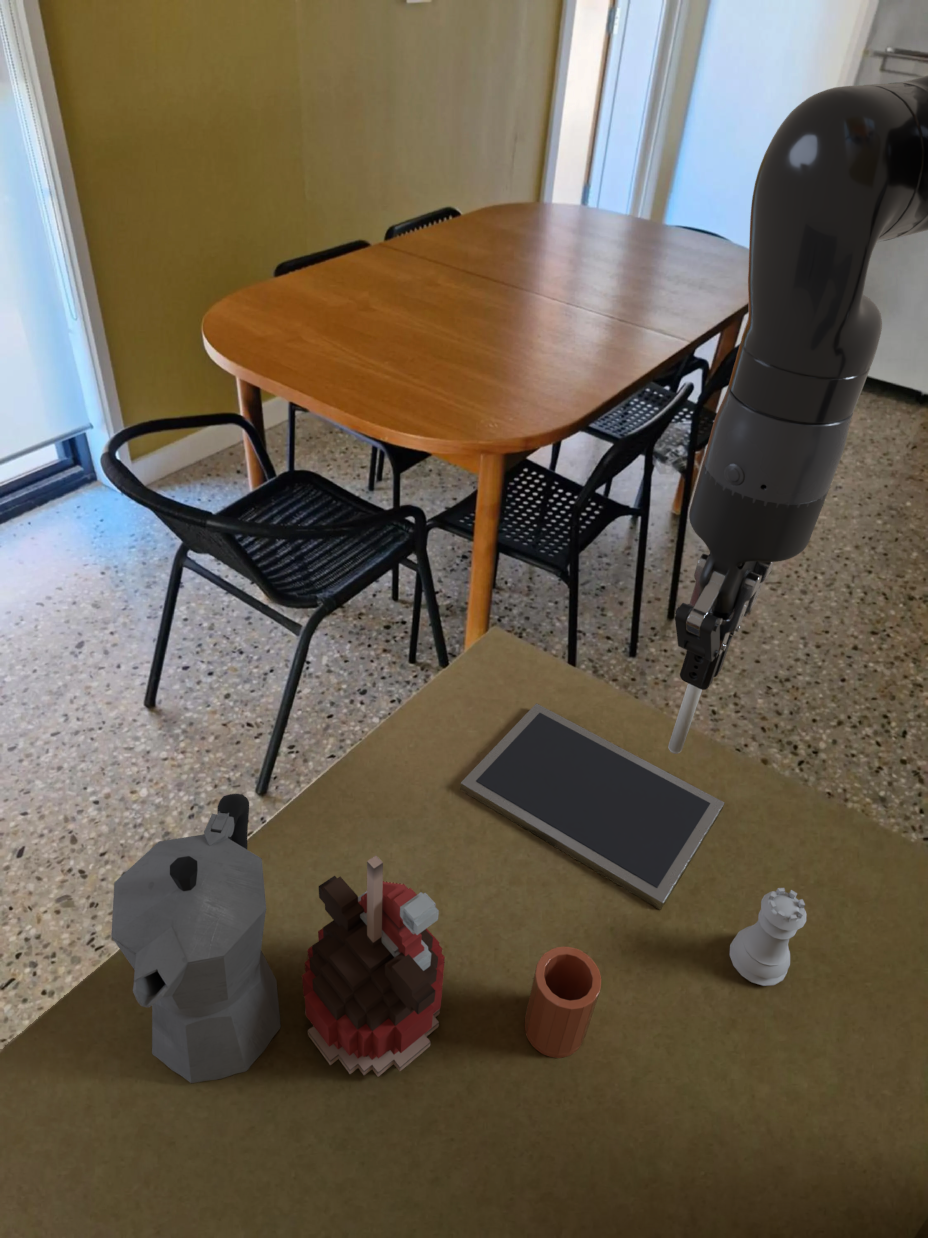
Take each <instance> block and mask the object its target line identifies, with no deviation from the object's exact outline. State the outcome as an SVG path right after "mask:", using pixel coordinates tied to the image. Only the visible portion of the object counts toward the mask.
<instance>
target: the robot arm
mask: <svg viewBox="0 0 928 1238" xmlns="http://www.w3.org/2000/svg"><path fill="white" fill-rule="evenodd" d="M749 221H750V222H749V239H748V240H749V241H748V242H749V245H748V268H747V271H748V272H747V293H748V295H747V296H748V316H747V320H746V322H745V326H744V329H743V332H742V336H741V339H740V343H739V346H738V350H737V353H736V357H735V360H734V361H735V362H734V365H733V368H732V371H731V375H730V379H729V383H728V385H727V389H726V392H725V394H724V397H723V398H722V401H721V402H720V405H719V408H718V409H717V412H716V414H715V417H714V420H713V424H712V427H711V431H710V434H709V438H708V442H707V445H706V450H705V453H704V456H703V460H702V464H701V467H700V472H699V475H698V479H697V481H696V485H695V489H694V492H693V496H692V501H691V504H690V508H689V512H688V517H689V518H688V520H689V523H690V526H691V528H692V530H693V532H694V533H695V534H696V535H697V536H698V537H699V538H700V539H701V541H702V542H703V543H704V545H705V546H706V547H707V549H708V550H709V553H707V552H705V551H704V552H702V554H701V555H700V557H699V559H698V561H697V564H696V567H695V571H694V574H693V577H694V580H695V583H694V587H693V591H692V594H691V598H690V600H689V603H685V602H681V604H680V605H679V606H677V608H676V610H675V613H674V614H675V616H674V623H675V631H676V632H675V633H676V639H677V646H678V647H679V648H681V649H684V650H685V651H686V653H685V655H684V659H683V662H682V666H681V669H680V673H679V677H680V679H681V680H682V681H683V682H685V683H687V684H688V683H689V684H691V685H693V686H695V687H697V688H699V689H702V691H705V690H708V689H709V687H710V686H711V684H712V683H713V680H714V678H716V677H717V676H718V675H719V674H720V672H721V670H722V668H723V666H724V662H725V659H726V657H727V653H728V650H729V647H730V644H731V642H732V639H733V637H735V636H736V635H737V633H739V631H741V627H742V625H741V624H742V622H743V620H744V617H747V616H748V614H750V613H751V612H752V609H753V607H754V606H755V604H756V603H757V600H758V598H759V595H760V592H761V589H762V587H763V584H764V582H765V581H766V579H767V577H768V576H769V575H770V573H771V572H772V570H773V568H774V564H775V563H777V562H783V561H787V560H790V559H792V558H794V557H796V556H798V555H799V554H801V553H802V552H804V550H805V549H806V548H807V547H808V545H809V543H810V540H811V537H812V535H813V534H814V533H813V532H814V530H815V527H816V525H817V522H818V520H819V516H820V515H821V511H822V508H823V507H824V504H825V502H826V498H827V496H828V494H829V491H830V488H831V485H832V483H833V480H834V478H835V475H836V473H837V470H838V468H839V464H840V462H841V459H842V457H843V454H844V451H845V447H846V444H847V439H848V435H849V430H850V425H851V422H852V418H853V415H854V412H855V410H856V407H857V404H858V402H859V399H860V397H861V394H862V391H863V389H864V386H865V384H866V380H867V378H868V375H869V372H870V370H871V367H872V365H873V362H874V359H875V357H876V356H875V355H876V353H877V350H878V346H879V342H880V339H881V335H882V330H883V319H882V313H881V312H880V310H879V308H878V306H877V305H876V303H875V302H874V301H872V299H871V298H870V297H868V296H866V295H865V294H864V290H865V286H866V285H865V284H866V279H867V275H868V274H867V273H868V269H869V265H870V261H871V258H872V255H873V252H874V249H875V247H876V244H878V243H881V242H886V241H890V240H894V239H898V238H903V237H906V236H911V235H914V234H915V235H916V234H919V233H922V232H926V231H928V74H927V75H923V76H921V77H916V78H913V79H908V80H906V81H905V80H904V81H899V82H889V83H874V84H858V85H857V84H856V85H855V84H854V85H845V86H836V87H832V88H827V89H825V90H823V91H820V92H817V93H815V94H813V95H811V96H809V97H807V98H806V99H805V100H803V101H801V102H800V103H799V104H798V105H797V106H796V107H795V108H794V109H792V110H791V112H790V113H788V115H787V116H786V117H785V119H784V120H783V121H782V123H781V124H780V125H779V127H778V128H777V130H776V131H775V133H774V134H773V136H772V139H771V141H770V142H769V144H768V146H767V148H766V150H765V153H764V154H763V157H762V159H761V162H760V165H759V168H758V170H757V174H756V177H755V181H754V186H753V192H752V198H751V205H750V219H749Z"/></svg>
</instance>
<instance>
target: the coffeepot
mask: <svg viewBox="0 0 928 1238" xmlns="http://www.w3.org/2000/svg"><path fill="white" fill-rule="evenodd" d="M249 801H250V800H249V799H248V797H246V795H244V794H242V793H230V794H225V795H223V796H222V797H221V799H220V800H219V801H218V805H217V814H216V813H211V814H210V815H211V816H210V817H209V819H208V822H207V824H206V826H205V829H204V831H203V834H197V835H190V836H184V837H178V838H171V839H166V840H160V841H157V843H155V844H154V845H153V846H152V847H151V848H150V849H149V850H147V852H146V853H145V854H143V855H142V856H141V857H140V858H139V859H138V860H137V861H136V862H135V863H134V864H133V865H131V866H130V867H129V868H128V869H127V870H126V871H125V872H124V873H123V874H122V875H120V877H118V879H117V880H115V881H114V883H113V897H112V916H111V917H112V918H111V932H110V933H111V935H110V936H111V939H112V940H113V941H114V943H115V944H116V946H117V947H118V948H119V950H120V951H121V953H122V954H123V955H124V957H125V959H126V960H127V961H128V963H129V965H130V966H131V967H132V969H133V970H134V974H133V986H132V993H133V995H134V998H135V999H136V1002H137V1003H138V1005H140V1006H141V1007H142V1008H146V1009H147V1008H148V1009H149V1008H151V1009H152V1010H151V1011H152V1013H151V1015H152V1016H151V1021H152V1022H151V1054H152V1055H153V1056H154V1057H155V1058H157V1059H158V1060H159V1061H160V1062H162V1063H163V1064H164V1065H165V1066H167V1068H168V1069H170V1071H172V1072H174V1073H176V1074H178V1075H179V1076H181V1077H182V1078H184V1079H185V1080H186V1081H187V1082H189V1083H190V1084H195V1083H201V1082H208V1081H209V1082H210V1081H216V1080H221V1079H226V1078H229V1077H231V1076H233V1075H236V1074H240V1073H241V1074H242V1073H245V1072H247V1071H248V1070H249V1069H250V1068H251V1066H252V1065H253V1064H254V1063H255V1061H256V1060H257V1059H258V1058H259V1057H260V1056H261V1055H262V1054H263V1053H264V1052H265V1051H266V1049H267V1048H268V1046H269V1045H270V1043H271V1041H272V1040H273V1038H274V1037H275V1036H276V1034H277V1033H278V1032H279V1030H280V1029H281V1027H282V1026H281V1024H282V1023H281V1015H280V1005H279V994H278V984H277V983H278V982H277V979H276V977H275V975H274V972H273V970H272V968H271V967H270V965H269V963H268V961H267V959H266V957H265V955H264V953H263V951H262V945H263V938H264V928H265V922H266V921H265V920H266V914H267V904H266V903H267V900H266V889H265V879H264V869H263V859H262V857H260V856H258V855H257V854H255V853H254V852H252V851H250V850H248V831H249V817H250V802H249Z"/></svg>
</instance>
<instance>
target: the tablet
mask: <svg viewBox="0 0 928 1238" xmlns="http://www.w3.org/2000/svg"><path fill="white" fill-rule="evenodd" d="M459 786H460V787H459V790H460V791H461V792H463V793H465V794H466V795H468V796H470V797H471V798H473V799H475V800H477V801H478V802H479V803H482V804H483V805H484V806H486V807H488V808H490V809H491V810H493V811H494V812H497V813H498V814H500V815H501V816H503V817H504V818H506V819H508V820H510V821H512V822H513V823H515V824H516V825H518V826H520V827H522V828H523V829H524V830H527V831H528V832H530V833H531V834H533V835H534V836H535V837H536V836H537V837H538V838H540V839H541V840H543V841H545V842H546V843H548V844H549V845H551V846H553V847H554V848H557V849H558V850H560V851H561V852H563V853H565V854H567V855H568V856H570V857H571V858H573V859H575V860H577V861H578V862H580V863H582V864H583V865H584V866H586V867H588V868H589V869H592V870H593V871H594V872H596V873H598V874H600V875H601V876H603V877H605V878H607V879H608V880H610V881H611V882H613V883H615V884H616V885H618V886H619V887H622V888H623V889H625V890H626V891H628V892H630V893H632V894H633V895H635V896H637V897H638V898H639V899H642V900H643V901H645V902H646V903H648V904H649V905H651V906H653V907H655V908H657V909H658V910H662V909H663V907H664V905H665V904H666V903H667V901H668V899H669V898H670V895H671V894H672V892H673V891H674V889H675V887H676V886H677V884H678V882H679V881H680V880H681V877H682V876H683V875H684V872H685V871H686V870H687V868H688V867H689V864H690V863H691V861H692V860H693V858H694V857H695V855H696V853H697V851H698V850H699V848H700V847H701V845H702V843H703V842H704V840H705V839H706V837H707V835H708V834H709V832H710V830H711V829H712V827H713V825H714V824H715V822H716V821H717V819H718V818H719V815H720V814H721V812H722V811H723V809H724V806H725V802H724V801H723V800H721V799H719V798H717V797H715V796H714V795H712V794H709V793H707V792H706V791H703V790H702V789H700V788H698V787H696V786H694V785H692V784H691V783H689V782H687V781H685V780H683V779H681V778H679V777H678V776H676V775H673V774H671V773H670V772H668V771H666V770H664V769H662V768H660V767H658V766H656V765H655V764H653V763H651V762H649V761H647V760H646V759H643V758H641V757H639V756H638V755H635V754H633V753H632V752H630V751H628V750H626V749H624V748H622V747H621V746H619V745H617V744H614V743H613V742H611V741H609V740H607V739H605V738H604V737H601V736H599V735H597V734H596V733H594V732H592V731H591V730H588V729H587V728H584V727H582V726H581V725H578V724H577V723H575V722H573V721H571V720H569V719H567V718H566V717H564V716H562V715H560V714H558V713H556V712H554V711H552V710H550V709H548V708H547V707H545V706H542V705H541V704H539V703H535V704H534V705H533V706H532V707H531V708H530V709H529V710H528V711H527V712H526V714H524V715H523V716H522V718H521V719H520V720H519V721H518V722H516V724H515V725H514V726H513V727H512V728H511V729H510V730H509V731H508V732H507V733H506V734H505V736H504V737H503V738H501V740H500V741H499V742H497V744H496V745H495V746H493V748H492V749H491V750H490V751H489V752H488V753H487V754H486V755H485V756H484V757H483V759H481V761H479V763H478V764H477V765H476V766H475V767H473V769H472V770H471V771H470V772H469V773H468V774H467V775H466V776H465V778H463V780H462V781H461V782H460V785H459Z"/></svg>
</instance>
